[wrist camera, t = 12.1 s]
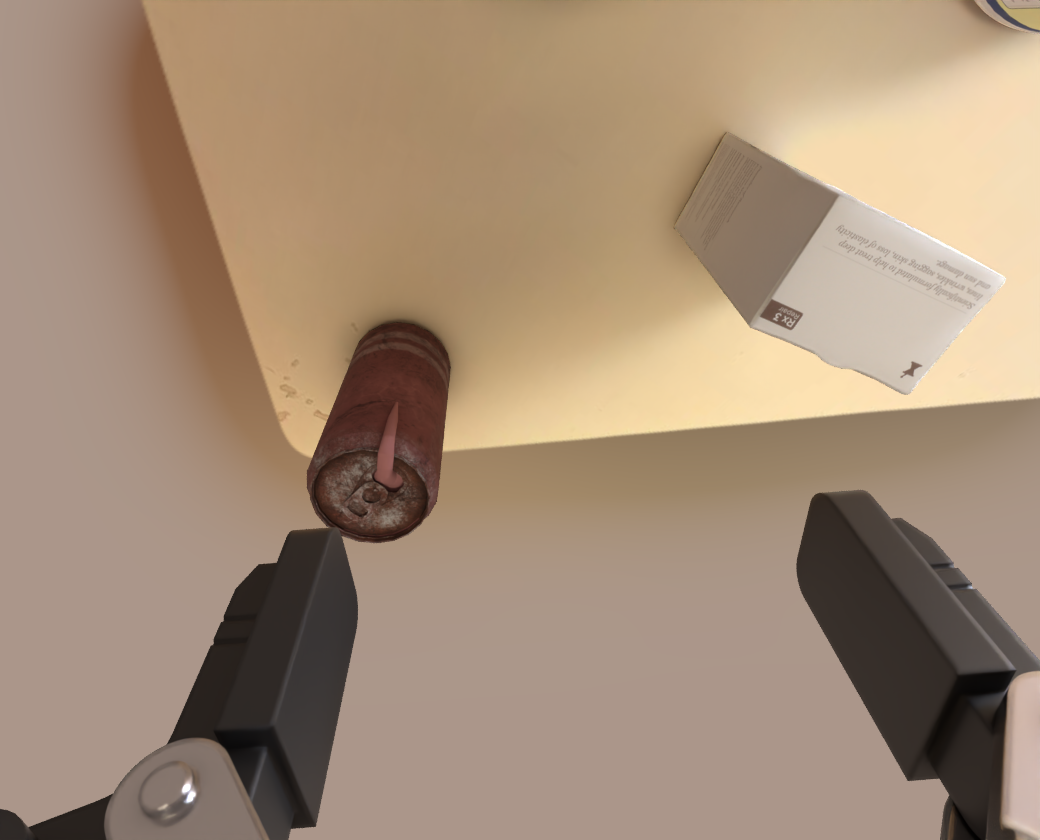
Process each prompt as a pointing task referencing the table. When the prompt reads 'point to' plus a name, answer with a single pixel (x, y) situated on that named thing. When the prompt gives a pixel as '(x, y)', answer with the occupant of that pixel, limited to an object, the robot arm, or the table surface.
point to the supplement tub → (1014, 13)
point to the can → (383, 437)
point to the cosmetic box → (830, 268)
